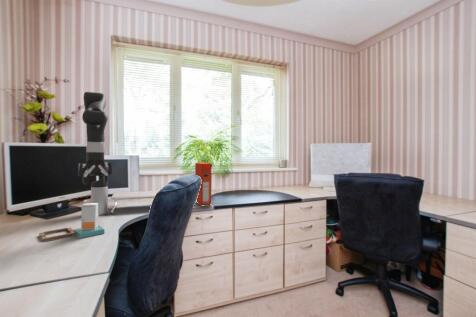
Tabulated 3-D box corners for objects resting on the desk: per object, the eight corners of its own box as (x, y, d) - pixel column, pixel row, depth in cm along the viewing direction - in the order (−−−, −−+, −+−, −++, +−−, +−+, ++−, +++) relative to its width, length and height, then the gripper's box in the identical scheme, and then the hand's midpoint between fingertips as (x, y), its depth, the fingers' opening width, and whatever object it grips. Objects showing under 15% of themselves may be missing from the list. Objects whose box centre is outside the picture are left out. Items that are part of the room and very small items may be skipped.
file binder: (200, 206, 173) (201, 163, 172) (194, 201, 188) (195, 162, 188) (211, 205, 176) (211, 163, 176) (204, 201, 192) (204, 162, 192)
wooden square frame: (39, 235, 107) (39, 232, 107) (70, 229, 116) (70, 227, 116) (43, 242, 99) (43, 239, 99) (76, 235, 108) (76, 232, 108)
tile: (74, 233, 111) (74, 228, 111) (97, 228, 118) (97, 224, 118) (79, 238, 104) (79, 233, 104) (104, 233, 111) (104, 228, 111)
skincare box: (80, 230, 108) (81, 205, 108) (84, 227, 112) (84, 203, 112) (95, 229, 110) (95, 204, 110) (98, 226, 114) (98, 202, 114)
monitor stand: (109, 215, 146) (109, 197, 146) (114, 205, 172) (114, 191, 171) (170, 210, 160) (170, 194, 160) (166, 202, 186) (166, 189, 186)
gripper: (108, 151, 122) (108, 181, 123) (76, 151, 112) (76, 184, 113) (113, 151, 117) (113, 183, 118) (80, 151, 107) (80, 186, 107)
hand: (95, 183), depth 115 cm, fingers open, 8 cm apart
